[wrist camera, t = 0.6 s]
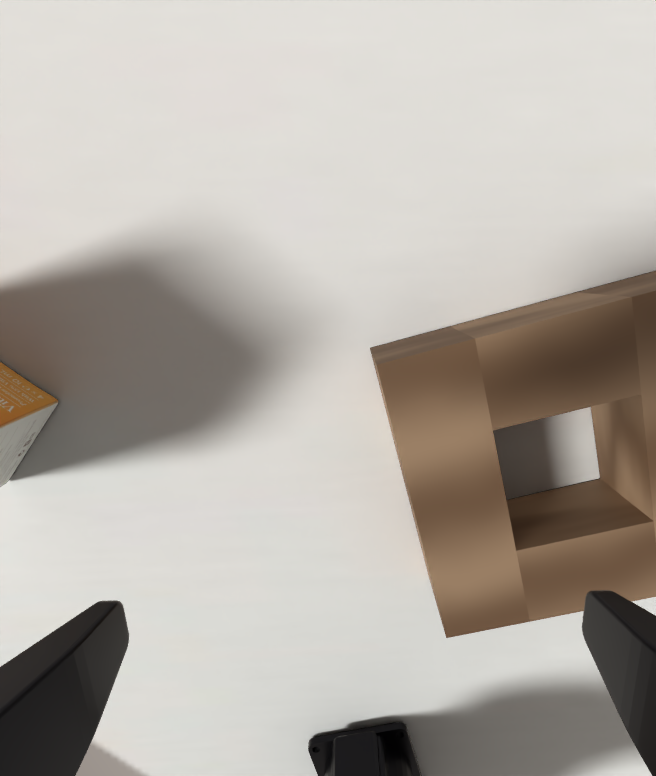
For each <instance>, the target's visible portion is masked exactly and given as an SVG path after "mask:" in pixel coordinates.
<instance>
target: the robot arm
mask: <svg viewBox="0 0 656 776" xmlns="http://www.w3.org/2000/svg"><path fill="white" fill-rule="evenodd" d="M582 631H583V636H584V639H585V641H586V644H587V646H588V648H589V650H590V652H591V654H592V657H593V659H594V661H595V663H596V665H597V667H598V670H599V672H600V674H601V676H602V678H603V680H604V683H605V685H606V687H607V689H608V691H609V693H610V696H611V698H612V700H613V702H614V704H615V706H616V709H617V711H618V713H619V715H620V717H621V719H622V721H623V723H624V725H625V727H626V729H627V731H628V733H629V735H630V737H631V739H632V741H633V742H634V744H635V746H636V748H637V750H638V751H639V753H640V755H641V757H642V758H643V760H644V762H645V764H646V765H647V767H648V769H649V771H650V772H651V774H652V776H656V616H655V615H653V614H652V613H650V612H648V611H646V610H645V609H643V608H641V607H639V606H638V605H636V604H634V603H633V602H631V601H629V600H627V599H626V598H624V597H622V596H621V595H619V594H617V593H615V592H613V591H610V590H592V591H589V592H588V593H587V594H586V598H585V606H584V614H583V623H582ZM128 642H129V632H128V627H127V622H126V617H125V612H124V608H123V605H122V603H121V602H120V601H99V602H97V603H95V604H94V605H92V606H91V607H89V608H88V609H86V610H85V611H83V612H82V613H80V614H79V615H77V616H76V617H74V618H73V619H71V620H70V621H68V622H67V623H65V624H64V625H62V626H61V627H59V628H58V629H56V630H55V631H53V632H52V633H50V634H49V635H47V636H46V637H44V638H43V639H41V640H40V641H39V642H37V643H36V644H34V645H33V646H31V647H30V648H28V649H27V650H25V651H24V652H22V653H21V654H19V655H18V656H16V657H15V658H13V659H12V660H10V661H9V662H7V663H6V664H4V665H3V666H1V667H0V776H75V775H76V773H77V771H78V769H79V767H80V765H81V762H82V760H83V758H84V756H85V754H86V752H87V750H88V748H89V745H90V743H91V741H92V739H93V737H94V734H95V732H96V729H97V727H98V724H99V722H100V719H101V717H102V714H103V711H104V709H105V706H106V703H107V701H108V698H109V695H110V693H111V690H112V687H113V685H114V682H115V679H116V677H117V674H118V671H119V669H120V666H121V663H122V661H123V658H124V655H125V653H126V650H127V647H128ZM308 750H309V753H310V756H311V759H312V761H313V764H314V766H315V769H316V771H317V774H318V776H421V772H420V769H419V766H418V762H417V759H416V756H415V753H414V749H413V746H412V743H411V739H410V736H409V733H408V730H407V727H406V725H405V724H403V723H392V724H386V725H381V726H375V727H370V728H364V729H359V730H353V731H348V732H342V733H336V734H331V735H325V736H320V737H314V738H312V739H310V740H309V746H308Z"/></svg>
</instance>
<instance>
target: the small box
mask: <svg viewBox="0 0 656 776" xmlns="http://www.w3.org/2000/svg"><path fill="white" fill-rule="evenodd" d="M57 404H58V400H57V399H56V398H54V397H53V396H51V395H49V394H48V393H46V392H44V391H43V390H41V389H40V388H38V387H36V386H35V385H33V384H32V383H30V382H29V381H28V380H26V379H25V378H23V377H22V376H20V375H19V374H17V373H16V372H14V371H13V370H11V369H10V368H9V367H7V366H6V365H4V364H3V363H1V362H0V487H1V486H3V485H4V484H6V483H7V482H8V481H9V479H10V478H11V476H12V474H13V473H14V472H15V470H16V468H17V467H18V465H19V464H20V462H21V461H22V459H23V457H24V456H25V454H26V453H27V451H28V450H29V448H30V446H31V445H32V443H33V442H34V440H35V439H36V437H37V435H38V434H39V432H40V431H41V429H42V428H43V426H44V424H45V423H46V421H47V420H48V418H49V417H50V415H51V414H52V412H53V411H54V409H55V408H56V406H57Z"/></svg>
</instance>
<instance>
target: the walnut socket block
mask: <svg viewBox="0 0 656 776" xmlns="http://www.w3.org/2000/svg"><path fill="white" fill-rule="evenodd" d="M370 350H371V354H372V358H373V362H374V365H375V369H376V373H377V377H378V381H379V385H380V389H381V393H382V396H383V400H384V404H385V408H386V412H387V416H388V420H389V424H390V427H391V431H392V435H393V439H394V443H395V447H396V451H397V455H398V458H399V462H400V466H401V470H402V474H403V478H404V482H405V486H406V489H407V493H408V497H409V501H410V505H411V509H412V513H413V517H414V520H415V524H416V528H417V532H418V536H419V540H420V544H421V548H422V551H423V555H424V559H425V563H426V567H427V571H428V575H429V579H430V582H431V586H432V589H433V593H434V596H435V600H436V603H437V607H438V610H439V613H440V617H441V620H442V624H443V627H444V631H445V634H446V638H449V637H454V636H459V635H464V634H469V633H474V632H479V631H484V630H489V629H494V628H499V627H504V626H509V625H515V624H520V623H525V622H530V621H535V620H540V619H545V618H550V617H555V616H560V615H565V614H570V613H575V612H580V611H584V606H585V598H586V594H587V593H588V592H589V591H592V590H610V591H613V592H615V593H617V594H619V595H621V596H622V597H624V598H626V599H627V600H629V601H636V600H641V599H646V598H651V597H656V271H653V272H649V273H646V274H642V275H638V276H635V277H631V278H627V279H624V280H620V281H616V282H612V283H609V284H605V285H601V286H598V287H594V288H590V289H587V290H583V291H579V292H575V293H572V294H568V295H564V296H561V297H557V298H553V299H550V300H546V301H542V302H538V303H535V304H531V305H527V306H524V307H520V308H516V309H513V310H509V311H505V312H501V313H498V314H494V315H490V316H487V317H483V318H479V319H476V320H472V321H468V322H464V323H461V324H457V325H453V326H450V327H446V328H442V329H439V330H435V331H431V332H427V333H424V334H420V335H416V336H413V337H409V338H405V339H402V340H398V341H394V342H390V343H387V344H383V345H379V346H376V347H372V348H370ZM587 407H591V411H592V419H593V427H594V434H595V442H596V450H597V457H598V465H599V473H600V479H597V480H593V481H588V482H584V483H579V484H575V485H571V486H566V487H562V488H557V489H553V490H549V491H544V492H540V493H535V494H531V495H527V496H522V497H518V498H513V499H509V500H506V496H505V491H504V485H503V480H502V475H501V470H500V465H499V460H498V455H497V449H496V444H495V439H494V434H493V430H497V429H501V428H505V427H509V426H513V425H517V424H521V423H526V422H530V421H534V420H538V419H542V418H546V417H550V416H554V415H558V414H563V413H567V412H571V411H575V410H579V409H583V408H587Z"/></svg>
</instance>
